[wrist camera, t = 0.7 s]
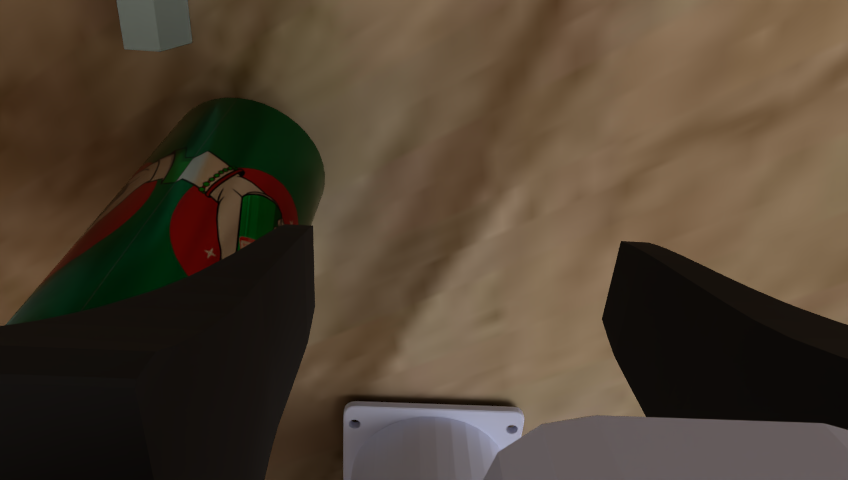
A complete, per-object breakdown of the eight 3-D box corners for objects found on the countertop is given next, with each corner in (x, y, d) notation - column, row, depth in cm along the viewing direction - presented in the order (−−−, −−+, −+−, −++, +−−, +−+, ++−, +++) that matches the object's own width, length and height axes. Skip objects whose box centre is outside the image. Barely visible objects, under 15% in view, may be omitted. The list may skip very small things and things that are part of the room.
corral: (233, 408, 24) (214, 452, 22) (-46, 398, 24) (-94, 442, 21) (153, -306, 14) (104, -360, 12) (-341, -352, 13) (-493, -420, 11)
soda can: (197, 210, 20) (-25, 559, 11) (164, 82, 17) (-188, 428, 8) (332, 222, 20) (217, 583, 11) (324, 96, 17) (154, 461, 8)
